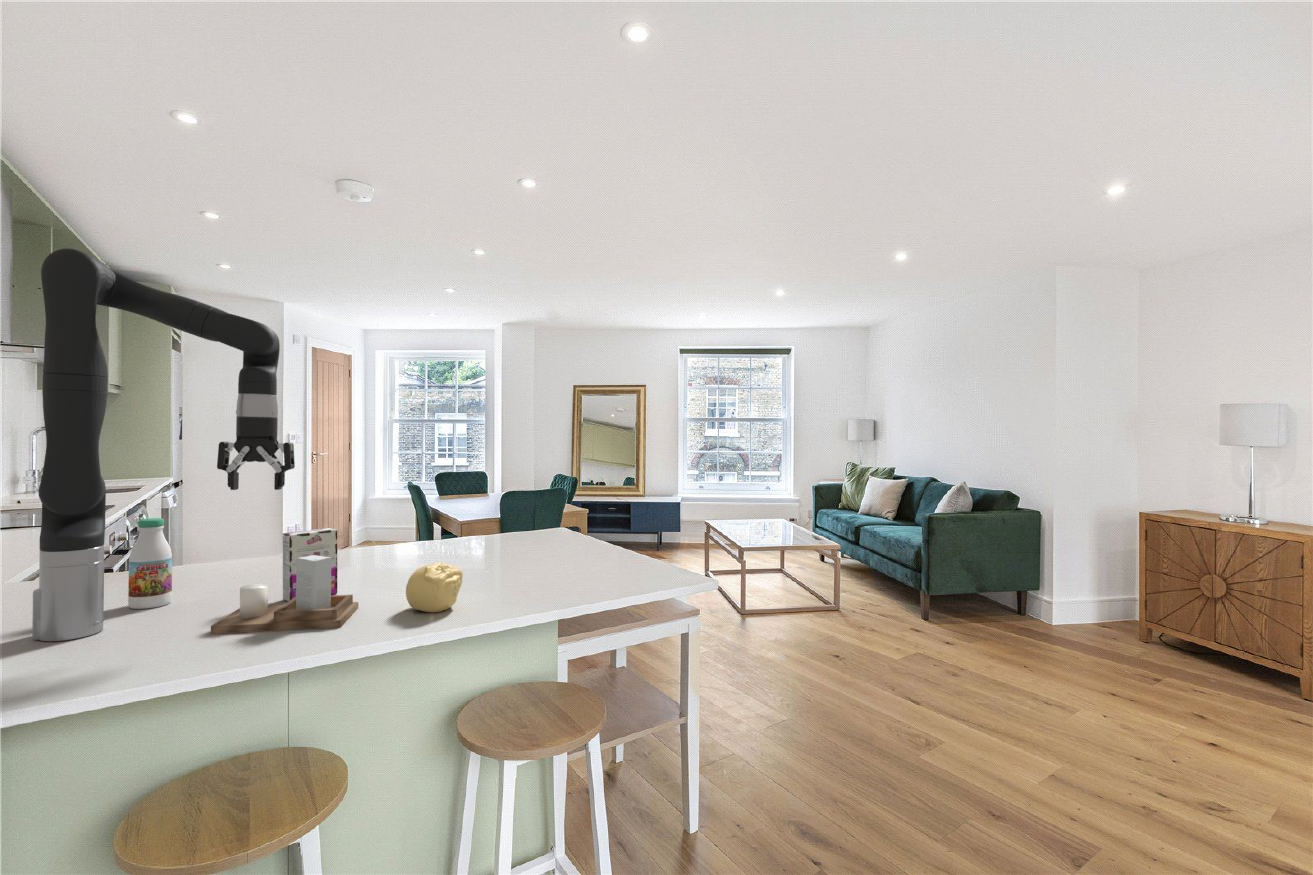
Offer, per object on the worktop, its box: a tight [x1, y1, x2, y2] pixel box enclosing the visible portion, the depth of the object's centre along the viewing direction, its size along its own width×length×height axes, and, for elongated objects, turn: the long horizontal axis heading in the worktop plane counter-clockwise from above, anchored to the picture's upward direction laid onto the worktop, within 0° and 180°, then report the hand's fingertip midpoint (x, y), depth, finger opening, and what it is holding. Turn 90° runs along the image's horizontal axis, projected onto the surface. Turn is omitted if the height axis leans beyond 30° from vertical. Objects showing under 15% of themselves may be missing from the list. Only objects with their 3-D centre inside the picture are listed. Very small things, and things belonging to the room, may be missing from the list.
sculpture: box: [405, 561, 464, 613], centre depth 140 cm, size 12×12×11 cm
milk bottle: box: [127, 517, 173, 610], centre depth 139 cm, size 8×8×20 cm
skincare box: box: [296, 555, 331, 610], centre depth 131 cm, size 6×4×12 cm
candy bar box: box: [282, 527, 338, 603], centre depth 148 cm, size 11×5×16 cm, turn 143°
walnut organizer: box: [210, 583, 359, 635], centre depth 130 cm, size 24×14×8 cm, turn 103°
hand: (256, 489), depth 131 cm, fingers open, 8 cm apart
